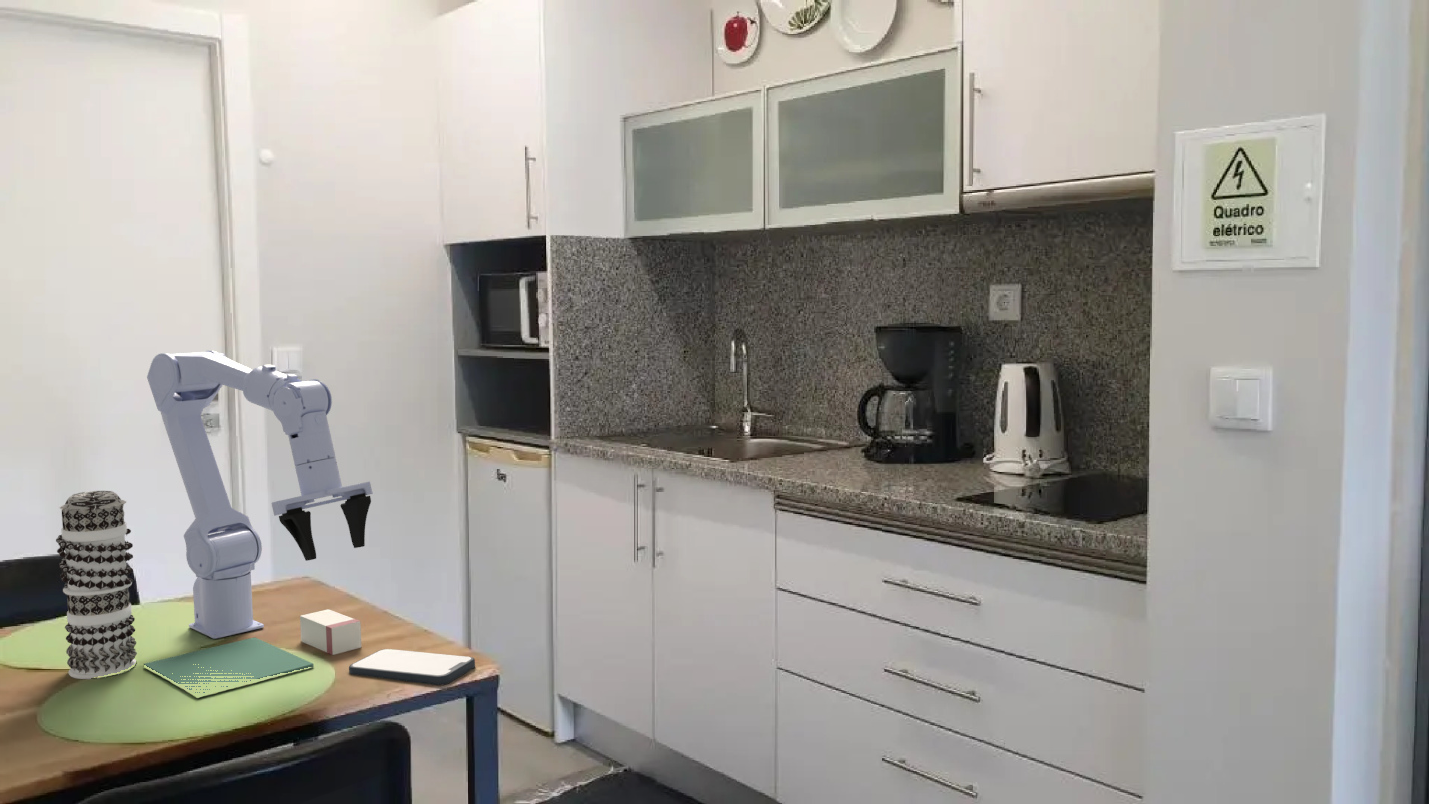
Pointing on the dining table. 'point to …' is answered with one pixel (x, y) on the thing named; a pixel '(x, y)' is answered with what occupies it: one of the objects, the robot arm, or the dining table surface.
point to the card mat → (229, 662)
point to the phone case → (413, 666)
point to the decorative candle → (96, 584)
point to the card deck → (330, 631)
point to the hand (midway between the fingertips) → (335, 553)
